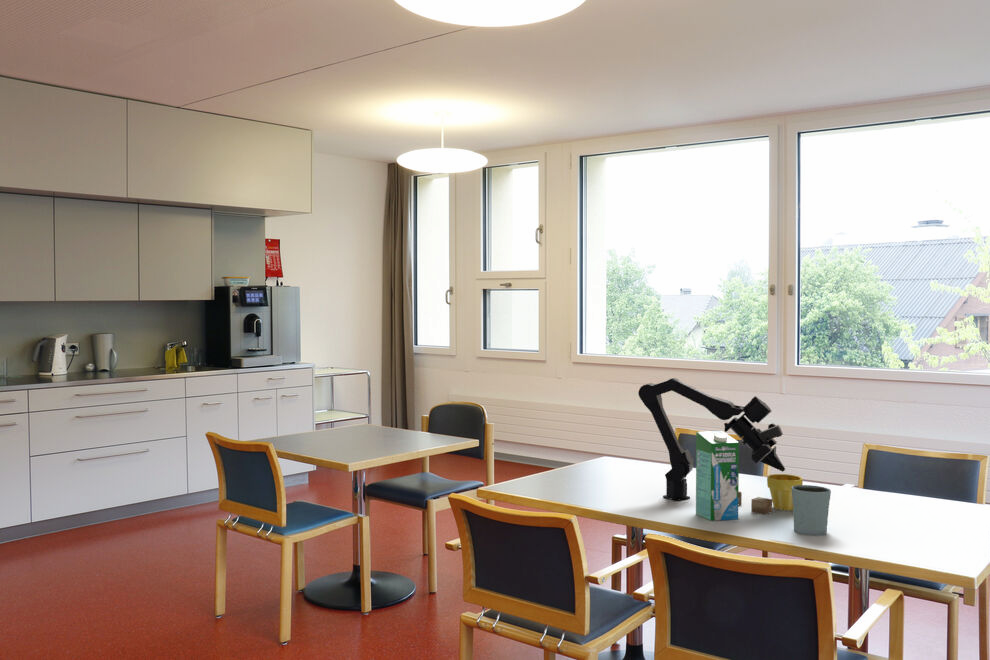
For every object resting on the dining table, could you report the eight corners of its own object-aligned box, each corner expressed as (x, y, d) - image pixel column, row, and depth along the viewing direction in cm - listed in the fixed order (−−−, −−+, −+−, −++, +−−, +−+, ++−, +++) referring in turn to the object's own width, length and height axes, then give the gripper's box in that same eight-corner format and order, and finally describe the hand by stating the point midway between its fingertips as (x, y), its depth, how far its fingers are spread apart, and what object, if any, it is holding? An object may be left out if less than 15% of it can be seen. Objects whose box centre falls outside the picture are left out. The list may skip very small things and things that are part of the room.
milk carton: (711, 521, 237) (711, 435, 236) (695, 513, 245) (696, 431, 245) (738, 519, 239) (739, 434, 239) (722, 512, 248) (722, 430, 247)
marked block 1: (728, 505, 257) (728, 492, 257) (721, 502, 261) (721, 489, 261) (741, 504, 258) (741, 491, 258) (733, 501, 263) (733, 488, 263)
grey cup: (784, 531, 226) (785, 488, 225) (801, 524, 233) (801, 482, 232) (820, 538, 218) (821, 493, 218) (836, 531, 225) (837, 488, 225)
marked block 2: (765, 514, 245) (765, 501, 245) (751, 512, 248) (751, 498, 248) (772, 512, 248) (772, 498, 248) (758, 509, 251) (758, 496, 251)
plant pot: (778, 512, 247) (778, 480, 247) (760, 505, 257) (761, 474, 257) (809, 511, 249) (809, 479, 249) (790, 503, 259) (790, 473, 259)
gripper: (763, 419, 246) (801, 458, 242) (769, 412, 263) (806, 449, 259) (736, 443, 250) (773, 482, 245) (744, 435, 267) (779, 471, 262)
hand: (784, 470), depth 253 cm, fingers closed
